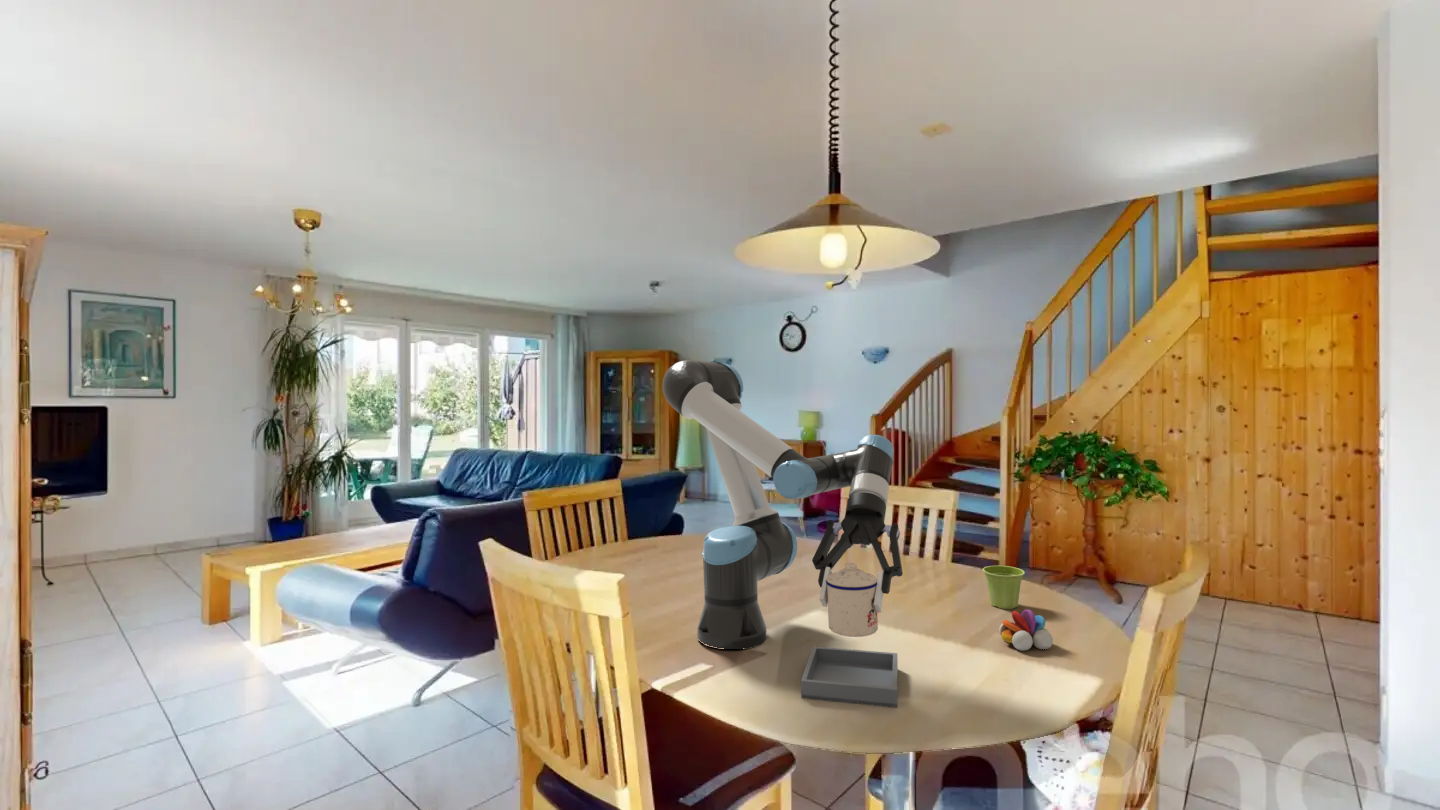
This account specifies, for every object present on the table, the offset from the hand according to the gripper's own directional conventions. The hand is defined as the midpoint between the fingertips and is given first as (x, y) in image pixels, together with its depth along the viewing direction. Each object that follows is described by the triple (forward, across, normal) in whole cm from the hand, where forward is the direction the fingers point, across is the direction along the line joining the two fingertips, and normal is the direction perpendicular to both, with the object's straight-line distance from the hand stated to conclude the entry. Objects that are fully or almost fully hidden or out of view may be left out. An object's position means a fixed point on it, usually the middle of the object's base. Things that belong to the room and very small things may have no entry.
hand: (849, 605), depth 112 cm
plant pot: (-32, -22, -54) cm, 66 cm away
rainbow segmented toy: (-14, -27, -36) cm, 47 cm away
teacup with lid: (+1, 0, -6) cm, 6 cm away
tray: (+8, +1, -13) cm, 16 cm away
